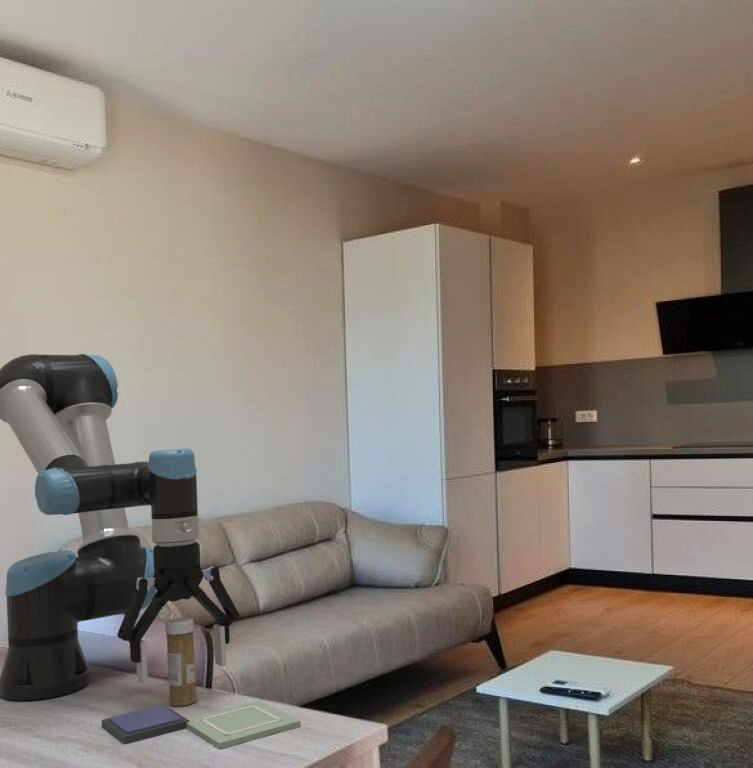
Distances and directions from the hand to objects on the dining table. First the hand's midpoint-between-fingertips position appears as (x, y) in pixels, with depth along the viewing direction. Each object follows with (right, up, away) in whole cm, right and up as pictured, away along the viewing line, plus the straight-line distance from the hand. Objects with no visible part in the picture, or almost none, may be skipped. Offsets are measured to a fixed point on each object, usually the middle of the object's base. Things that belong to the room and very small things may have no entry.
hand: (182, 673), depth 143 cm
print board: (+11, -4, -13) cm, 17 cm away
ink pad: (-3, -5, -11) cm, 12 cm away
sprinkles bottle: (0, -5, 0) cm, 5 cm away
